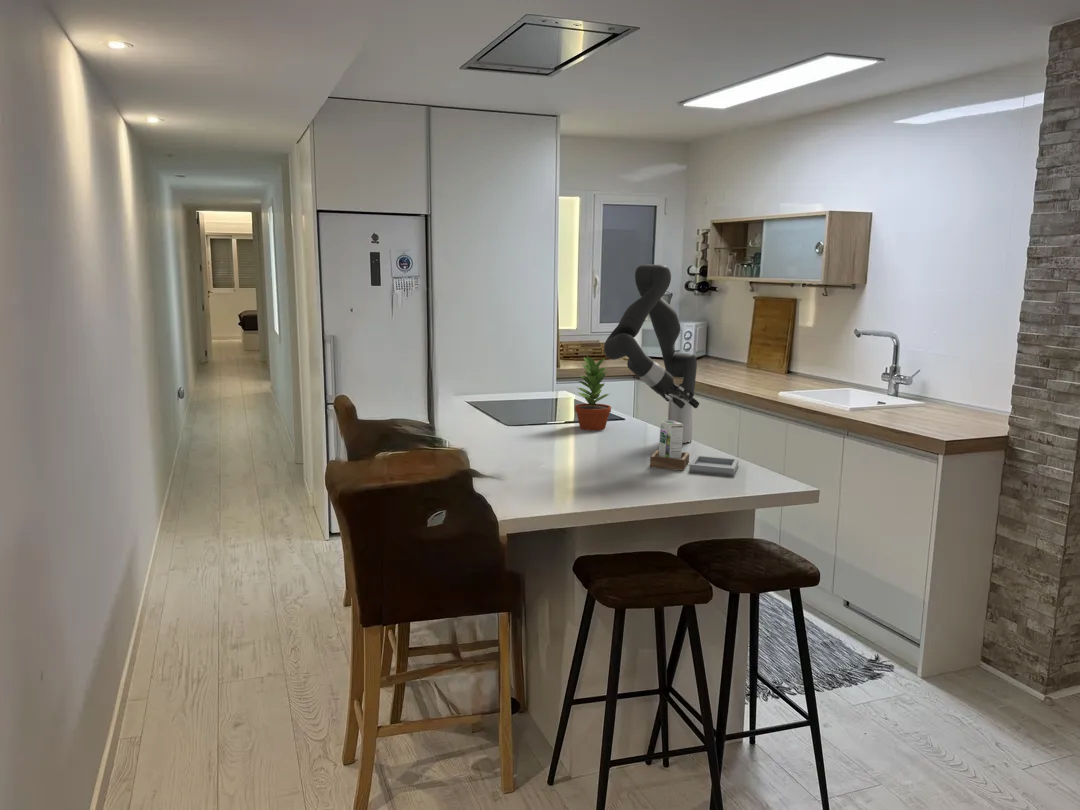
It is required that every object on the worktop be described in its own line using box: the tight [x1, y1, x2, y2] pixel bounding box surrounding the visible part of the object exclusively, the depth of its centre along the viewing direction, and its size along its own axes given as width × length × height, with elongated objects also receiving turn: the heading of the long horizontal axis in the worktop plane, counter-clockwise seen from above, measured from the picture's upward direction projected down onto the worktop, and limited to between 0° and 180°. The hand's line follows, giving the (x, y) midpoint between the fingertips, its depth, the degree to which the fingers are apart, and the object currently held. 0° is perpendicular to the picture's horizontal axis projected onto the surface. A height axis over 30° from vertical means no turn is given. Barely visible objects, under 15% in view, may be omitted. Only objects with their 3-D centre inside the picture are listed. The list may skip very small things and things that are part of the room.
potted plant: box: [574, 354, 612, 431], centre depth 326 cm, size 15×15×30 cm
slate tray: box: [688, 454, 740, 477], centre depth 264 cm, size 14×14×2 cm
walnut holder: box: [649, 449, 690, 471], centre depth 269 cm, size 11×11×4 cm
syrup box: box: [658, 420, 683, 459], centre depth 268 cm, size 6×6×14 cm
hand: (690, 406), depth 268 cm, fingers open, 8 cm apart
